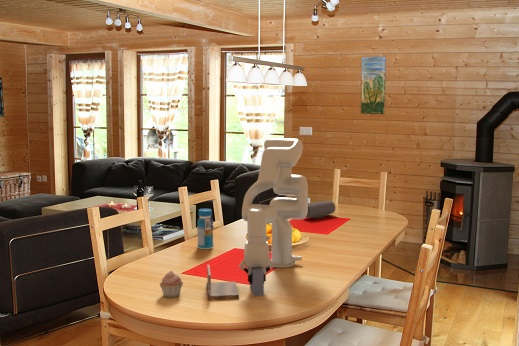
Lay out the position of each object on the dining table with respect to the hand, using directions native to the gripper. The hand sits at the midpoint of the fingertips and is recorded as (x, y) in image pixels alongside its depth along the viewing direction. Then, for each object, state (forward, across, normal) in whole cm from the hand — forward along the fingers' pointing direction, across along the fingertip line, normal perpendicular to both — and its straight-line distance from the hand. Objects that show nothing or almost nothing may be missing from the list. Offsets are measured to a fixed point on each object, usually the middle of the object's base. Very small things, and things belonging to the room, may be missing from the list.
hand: (256, 282), depth 234 cm
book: (+3, 0, 0) cm, 3 cm away
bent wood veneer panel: (+3, +14, 0) cm, 14 cm away
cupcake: (+4, +34, +1) cm, 34 cm away
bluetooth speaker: (+4, -57, -135) cm, 147 cm away
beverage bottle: (+4, +18, -69) cm, 71 cm away
